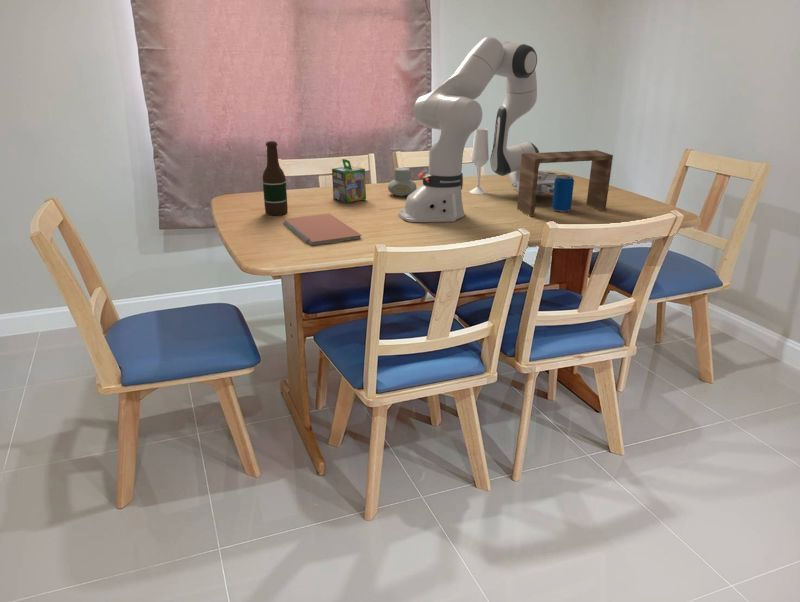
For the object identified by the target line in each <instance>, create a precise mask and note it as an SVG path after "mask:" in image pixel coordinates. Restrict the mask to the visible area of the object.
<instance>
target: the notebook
mask: <svg viewBox="0 0 800 602" xmlns="http://www.w3.org/2000/svg"><path fill="white" fill-rule="evenodd" d="M283 219H284V221H283V222H282V224H283V225H284V227H286V228H287V229H288V230H289V231H291V233H293V234H294V235H295V236H296V237H298V238H299V239H300V241H302V242H303V243H305V244H306V245H307V243H308V244H309V245H310V246H317V245H318V246H319V245H324V244H325V245H326V244H332V243H338V242H343V241H344V240H345V241H350V240H351V239H352V240H358V239H361V236H362V234H361V233H359V232H358V231H357V230H355V229H354V228H352V227H351V226H349V225H348V224H346V223H345V222H343V221H342V220H340V219H338V218H337V217H336V216H334V215H332V213H323V214H321V213H320V214H315V215H305V216H297V217H296V216H295V217H290V218H283Z"/></svg>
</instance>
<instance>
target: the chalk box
mask: <svg viewBox="0 0 800 602" xmlns="http://www.w3.org/2000/svg"><path fill="white" fill-rule="evenodd" d="M341 161H342V164H343V166H339V167H334V168H331V172H332V173H331V176H332V180H331V181H332V196H333V198H334V199H333V200H336V199H337V201H339V202H341V201H342V203H344V202H345V203H344V204H348V202H350V203H355V202H358V201H359V202H360V201H365V200H367V194H366V193H367V192H366V189H367V188H366V168H363V167H359V166H355V165H352V163H351V161H350V160H349V159H345V158H342V159H341Z"/></svg>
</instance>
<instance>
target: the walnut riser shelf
mask: <svg viewBox="0 0 800 602" xmlns="http://www.w3.org/2000/svg"><path fill="white" fill-rule="evenodd" d="M613 159H614V154H610V153H607V152H604V151H600V150H598V149H596V150H595V149H594V150H576V151H575V150H574V151H570V150H569V151H552V152H551V151H550V152H539V153H525V154H522V157H521V169H520V181H519V192H518V193H517V194H518V196H517V207H516V209H518V211H519V210H520V211H519V212H521V211H522V212H524V213H526V214H527V215H526V214H525V215H526V216H528V215H529V216H534V217H535V211H536V210H535V209H536V200H537V195H536V190H537V179H538V171H539V168H540V165H539V163H540V164H549V163H550V164H551V163H554V164H555V163H556V164H557V163H571V162H572V163H574V162H590V161H591V165H590V174H589V181H588V190H587V198H586V206H589V207H591V208H593V209H595V210H597V211H599V212H606V211H607V210H606V209H607V201H608V194H609V188H610V181H611V173H612V166H613ZM522 212H521V213H522ZM524 213H523V214H524ZM529 216H528V217H529Z"/></svg>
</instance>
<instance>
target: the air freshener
mask: <svg viewBox="0 0 800 602" xmlns="http://www.w3.org/2000/svg"><path fill="white" fill-rule="evenodd" d="M417 188H418V187H417V184H416V182H415V181H414V180H412V179H411V169H410V168H409V167H405V166H404V167H403V166H401V167H396V168H394V179H392V180H391V181H390V182H389V183H388V184H387V190H388V192H390V194H392V195H393V196H396V197H400V198H401V197H402V198H404V197H408V196H409V195H410V194H411V193H412V192H414V191H415V190H416V189H417Z"/></svg>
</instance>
